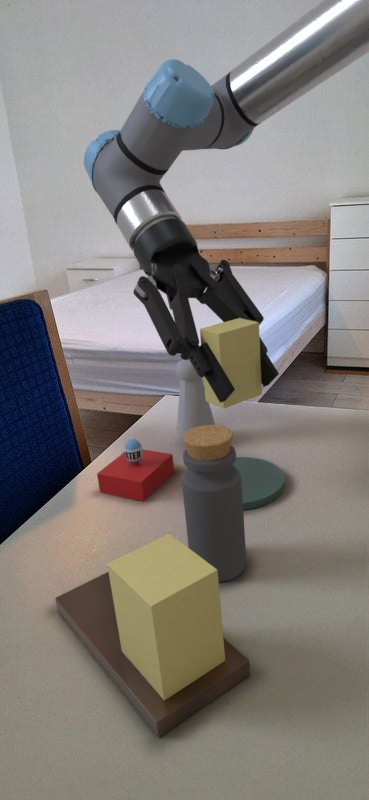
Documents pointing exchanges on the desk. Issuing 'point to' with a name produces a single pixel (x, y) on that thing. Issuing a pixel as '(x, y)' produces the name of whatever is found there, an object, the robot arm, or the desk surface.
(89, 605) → the butter board
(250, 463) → the plate
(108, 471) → the red box
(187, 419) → the salt shaker
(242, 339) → the yellow rectangular block
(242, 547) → the bottle
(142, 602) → the butter block
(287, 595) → the desk surface
